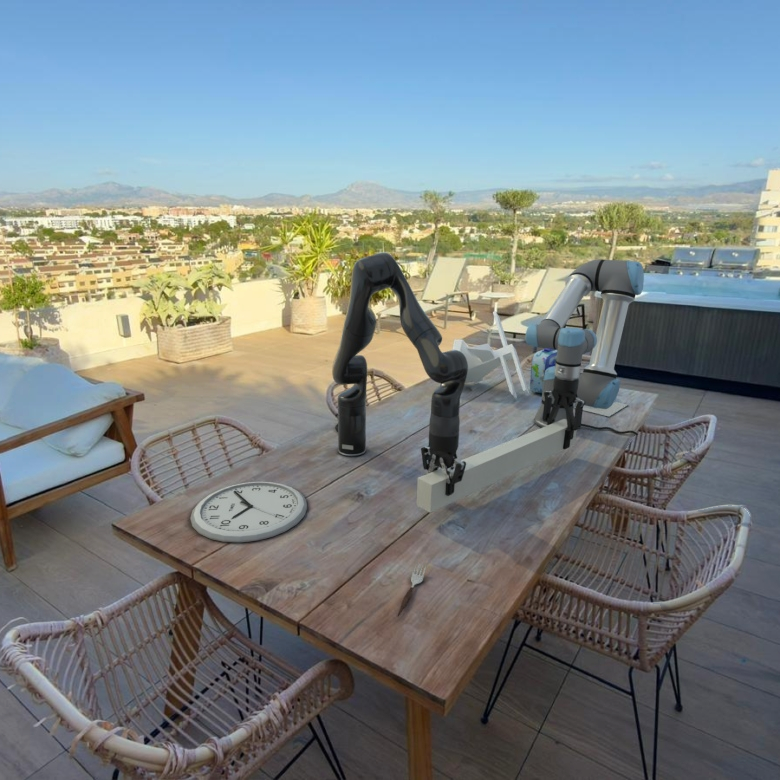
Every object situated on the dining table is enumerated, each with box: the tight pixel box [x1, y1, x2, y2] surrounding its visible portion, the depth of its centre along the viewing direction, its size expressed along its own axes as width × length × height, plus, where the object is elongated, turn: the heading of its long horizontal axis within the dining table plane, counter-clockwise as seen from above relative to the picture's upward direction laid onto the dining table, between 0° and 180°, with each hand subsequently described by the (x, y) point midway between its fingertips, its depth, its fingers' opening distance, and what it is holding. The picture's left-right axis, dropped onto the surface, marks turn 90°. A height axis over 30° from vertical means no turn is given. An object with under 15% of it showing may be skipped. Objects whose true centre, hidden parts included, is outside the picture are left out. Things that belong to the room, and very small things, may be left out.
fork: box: [397, 562, 427, 617], centre depth 109 cm, size 3×16×2 cm, turn 160°
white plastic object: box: [451, 310, 531, 400], centre depth 245 cm, size 37×45×31 cm
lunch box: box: [529, 348, 557, 394], centre depth 244 cm, size 26×11×21 cm, turn 135°
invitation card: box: [573, 401, 629, 418], centre depth 226 cm, size 21×1×15 cm
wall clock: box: [190, 481, 308, 544], centre depth 139 cm, size 30×2×30 cm
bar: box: [416, 419, 578, 514], centre depth 153 cm, size 68×5×8 cm, turn 131°
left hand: (441, 490), depth 136 cm, fingers closed on bar, 5 cm apart
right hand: (558, 445), depth 172 cm, fingers closed on bar, 5 cm apart
